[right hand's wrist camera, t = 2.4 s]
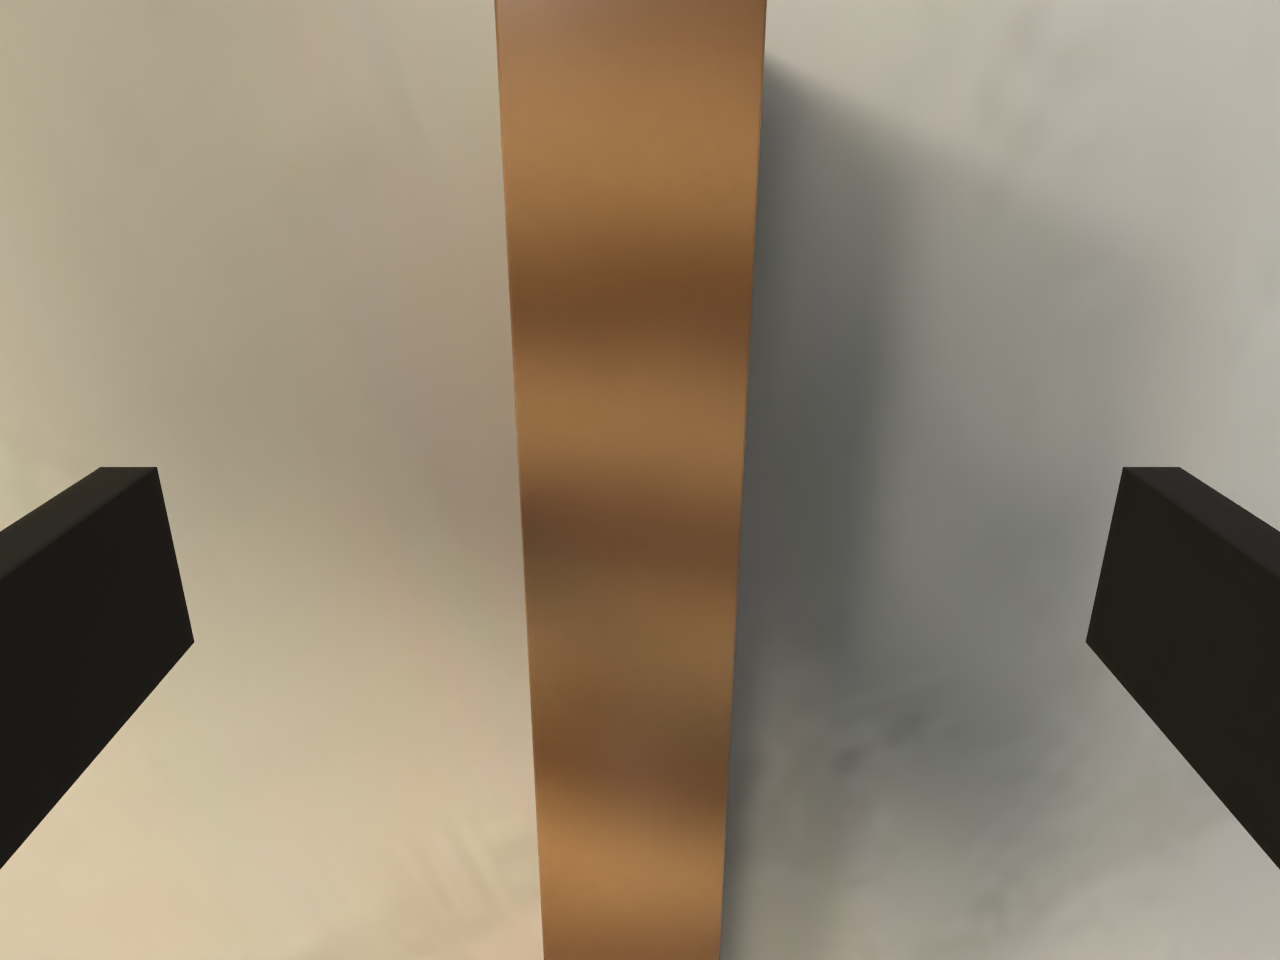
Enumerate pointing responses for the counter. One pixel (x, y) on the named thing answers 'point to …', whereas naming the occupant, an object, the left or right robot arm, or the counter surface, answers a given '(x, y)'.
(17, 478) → the counter surface
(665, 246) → the post
